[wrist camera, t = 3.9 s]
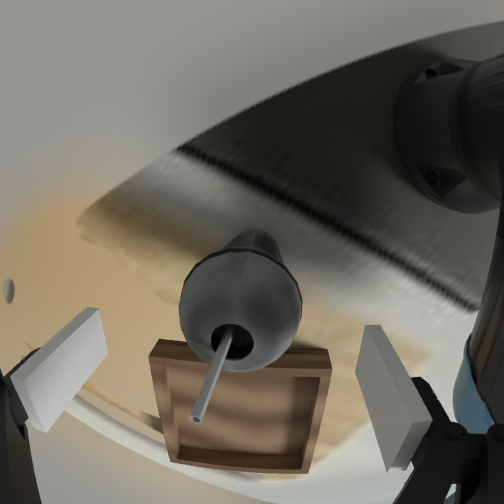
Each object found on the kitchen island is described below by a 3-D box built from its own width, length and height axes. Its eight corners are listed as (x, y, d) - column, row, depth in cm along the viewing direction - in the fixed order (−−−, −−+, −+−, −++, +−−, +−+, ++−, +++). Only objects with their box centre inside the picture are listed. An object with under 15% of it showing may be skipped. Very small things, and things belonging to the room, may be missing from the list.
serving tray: (159, 338, 33) (148, 355, 30) (327, 349, 32) (332, 369, 29) (176, 444, 38) (170, 461, 35) (306, 454, 37) (308, 473, 33)
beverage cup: (309, 255, 29) (358, 407, 10) (253, 305, 31) (224, 480, 12) (253, 198, 28) (204, 272, 9) (198, 253, 30) (92, 387, 11)
